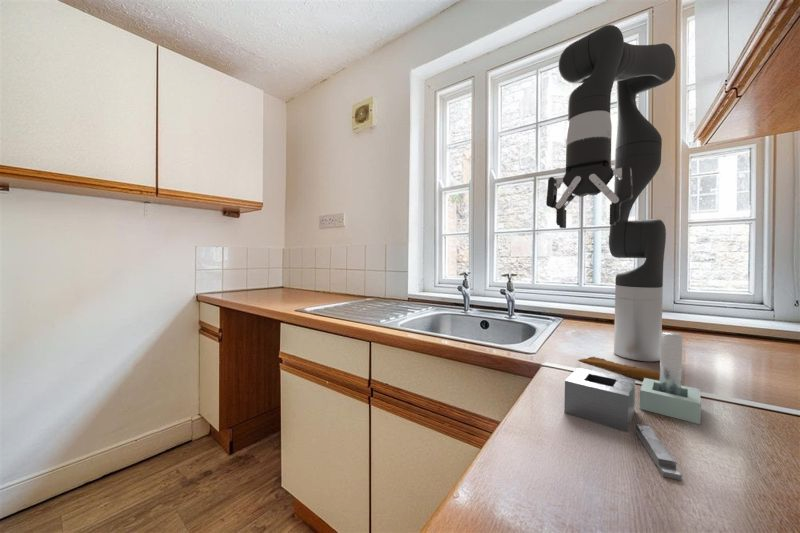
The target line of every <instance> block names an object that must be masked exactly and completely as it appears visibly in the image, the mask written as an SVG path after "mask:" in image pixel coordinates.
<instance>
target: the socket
mask: <svg viewBox="0 0 800 533" xmlns="http://www.w3.org/2000/svg"><path fill="white" fill-rule="evenodd" d="M635 398H636V379H635V378H632V377H627V376H626V377H625V376H621V375H616V374H612V373H611V374H610V373H606V372H602V371H598V370H597V371H596V370H592V369H588V368H587V369H586V368H583V367H577V368H575V370H574V371H573V372H572V373H571V374H570V375H569V376H568V377H567V378H566V379H564V405H563V406H564V407H563V408H564V410H563V411H564V412H563V413H564V414H568V415H571V416H575V417H578V418H581V419H585V420H588V421H590V422H591V421H592V422H594V423H597V424H601V425H604V426H608V427H611V428H614V429H618V430H620V431H624V432H629V428H630V425H631V423H632V420H633V417H634V414H635V411H636V410H635V408H636V406H635V404H636V399H635Z"/></svg>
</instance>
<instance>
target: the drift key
mask: <svg viewBox="0 0 800 533" xmlns="http://www.w3.org/2000/svg"><path fill="white" fill-rule="evenodd" d="M635 433H636V435H637V437H638V439H639V440H640V442H641V443H642V445H643V446H644V448H645V450H646V451H647V453H648V454H649V456H650V458H651V460H652V461H653V463H654V464H655V466H656V468H657V469H658V472H660V474H661V476H662V477H664V478H668V479H673V480H677V481H682V478H683V477H682V476H683V475H682V473H681V472H680V471H679V469H678V467H677V461H676V460H675V458H674V457H673V455H672V454H671V452H669V450H668V448H667V447H666V445H664V443H663V442H662V440H661V439H660V438H659V436H658V435H657V434H656V432H655V430H654V429H653V428H652V427H651V426H649V425H644V424H639V423H638V424H636V425H635Z"/></svg>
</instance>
